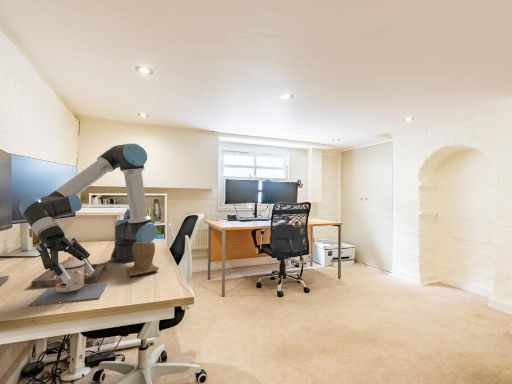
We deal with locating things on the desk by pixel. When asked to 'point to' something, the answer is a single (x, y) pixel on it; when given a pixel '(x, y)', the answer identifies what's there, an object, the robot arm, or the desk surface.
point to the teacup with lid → (71, 275)
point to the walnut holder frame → (48, 279)
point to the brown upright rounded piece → (142, 258)
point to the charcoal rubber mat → (70, 294)
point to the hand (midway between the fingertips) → (80, 277)
